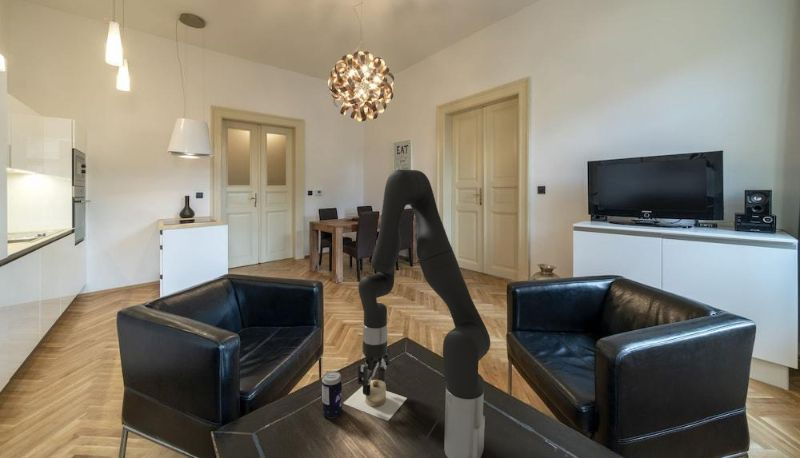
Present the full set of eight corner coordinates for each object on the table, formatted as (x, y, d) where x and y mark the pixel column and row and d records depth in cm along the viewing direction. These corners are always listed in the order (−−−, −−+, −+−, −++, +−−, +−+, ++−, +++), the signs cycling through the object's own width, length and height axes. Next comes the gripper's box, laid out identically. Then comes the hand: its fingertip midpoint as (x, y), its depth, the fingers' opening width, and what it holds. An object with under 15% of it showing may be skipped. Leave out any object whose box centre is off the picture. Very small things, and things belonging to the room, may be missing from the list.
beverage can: (337, 422, 95) (337, 382, 94) (319, 419, 96) (318, 380, 95) (345, 409, 101) (344, 371, 99) (327, 406, 102) (326, 369, 100)
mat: (407, 399, 106) (407, 398, 106) (387, 422, 95) (387, 420, 95) (365, 384, 113) (365, 383, 113) (343, 404, 103) (343, 403, 103)
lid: (389, 398, 106) (389, 380, 105) (378, 409, 100) (378, 391, 99) (372, 392, 109) (372, 374, 108) (361, 403, 103) (361, 384, 102)
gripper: (372, 351, 94) (371, 404, 96) (397, 332, 106) (396, 379, 108) (351, 344, 97) (350, 395, 99) (377, 326, 110) (376, 372, 112)
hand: (374, 387), depth 104 cm, fingers open, 8 cm apart
